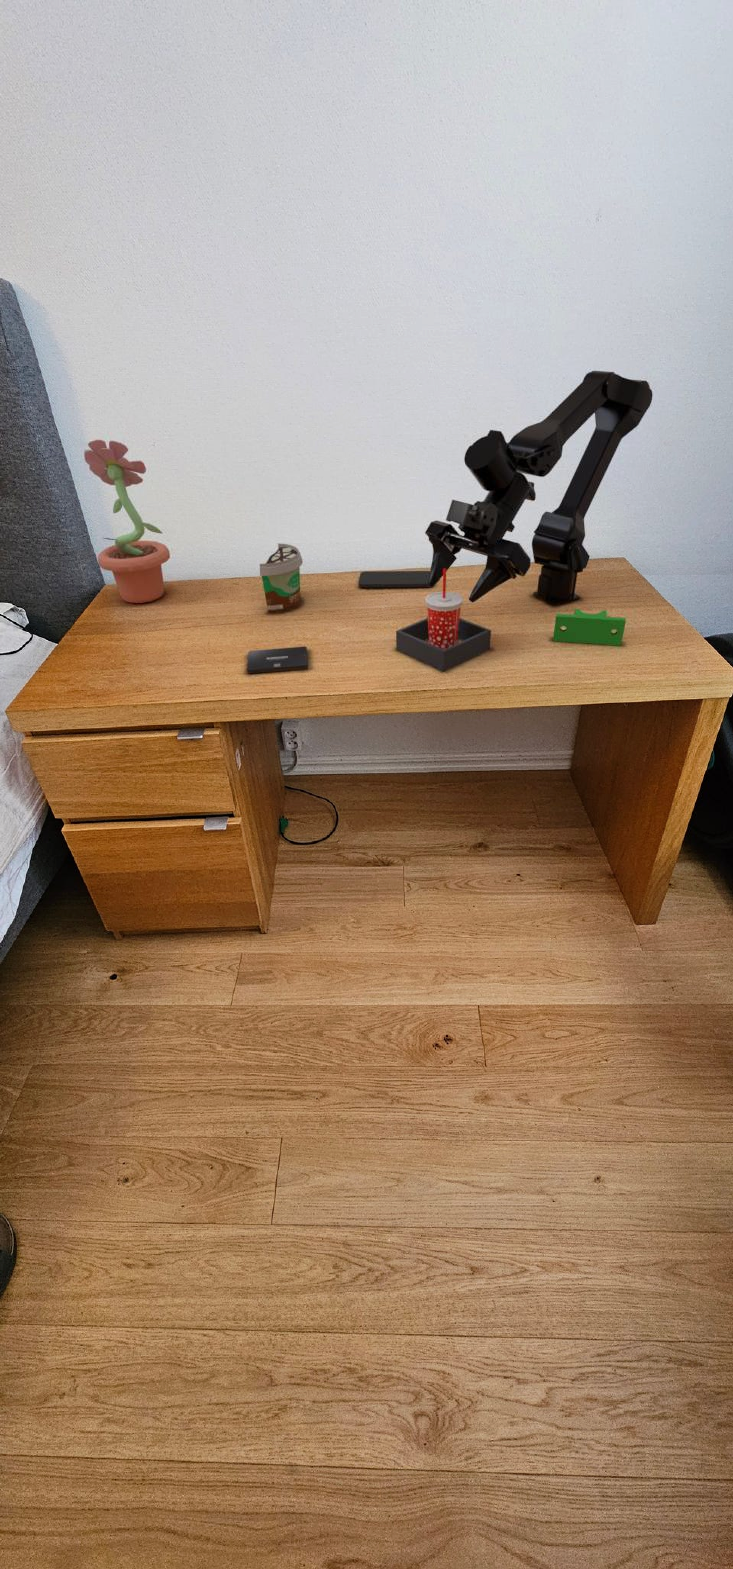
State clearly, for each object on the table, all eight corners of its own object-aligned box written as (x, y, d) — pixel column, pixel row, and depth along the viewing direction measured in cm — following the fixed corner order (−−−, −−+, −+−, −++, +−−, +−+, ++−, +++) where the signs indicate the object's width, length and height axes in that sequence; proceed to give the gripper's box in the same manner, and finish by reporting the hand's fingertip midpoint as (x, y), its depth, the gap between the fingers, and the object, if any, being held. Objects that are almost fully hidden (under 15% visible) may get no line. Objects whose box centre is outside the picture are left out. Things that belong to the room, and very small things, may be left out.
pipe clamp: (620, 636, 119) (625, 611, 117) (620, 646, 116) (626, 620, 114) (553, 631, 122) (556, 606, 119) (552, 641, 119) (555, 615, 116)
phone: (432, 583, 140) (358, 584, 141) (432, 587, 140) (358, 588, 141) (432, 570, 146) (360, 571, 147) (432, 574, 146) (360, 575, 147)
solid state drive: (308, 668, 115) (307, 664, 114) (247, 673, 114) (246, 670, 114) (307, 649, 120) (306, 646, 120) (248, 654, 120) (248, 650, 119)
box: (442, 629, 125) (442, 611, 122) (489, 649, 118) (491, 630, 115) (396, 649, 119) (395, 630, 117) (443, 671, 112) (443, 652, 110)
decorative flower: (193, 585, 147) (161, 428, 129) (167, 611, 137) (128, 445, 119) (128, 583, 150) (88, 429, 132) (97, 609, 139) (49, 446, 121)
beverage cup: (440, 638, 122) (442, 559, 113) (468, 648, 118) (472, 567, 110) (417, 650, 118) (417, 569, 110) (444, 661, 115) (446, 578, 106)
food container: (296, 617, 131) (291, 565, 125) (265, 616, 133) (258, 564, 127) (313, 592, 141) (309, 543, 135) (284, 591, 142) (278, 542, 136)
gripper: (433, 468, 112) (384, 554, 113) (526, 488, 100) (470, 583, 101) (465, 508, 120) (419, 588, 121) (553, 531, 109) (501, 618, 110)
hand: (449, 593), depth 113 cm, fingers open, 9 cm apart
